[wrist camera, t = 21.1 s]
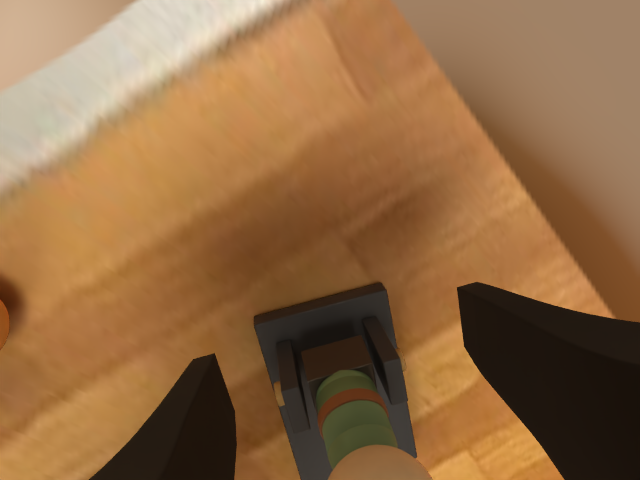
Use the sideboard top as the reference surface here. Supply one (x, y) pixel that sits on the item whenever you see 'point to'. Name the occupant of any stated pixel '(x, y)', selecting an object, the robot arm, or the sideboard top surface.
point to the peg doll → (355, 415)
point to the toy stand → (320, 329)
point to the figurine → (3, 324)
